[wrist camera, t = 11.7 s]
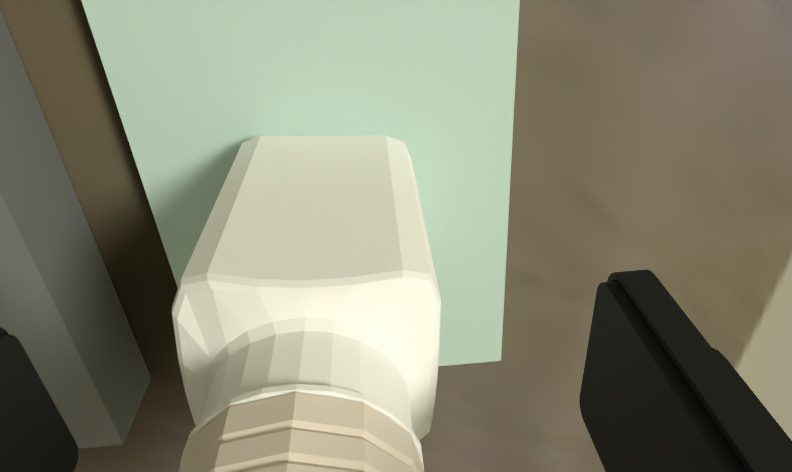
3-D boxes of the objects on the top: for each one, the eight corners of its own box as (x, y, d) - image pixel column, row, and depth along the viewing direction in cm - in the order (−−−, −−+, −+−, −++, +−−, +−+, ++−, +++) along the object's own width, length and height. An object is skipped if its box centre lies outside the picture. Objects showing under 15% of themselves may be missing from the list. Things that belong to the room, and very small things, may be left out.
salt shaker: (405, 266, 15) (460, 687, 7) (256, 268, 15) (141, 708, 7) (410, 126, 13) (496, 498, 5) (238, 125, 13) (40, 518, 5)
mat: (78, -52, 11) (64, -49, 11) (516, -83, 12) (523, -83, 11) (214, 372, 18) (210, 386, 17) (496, 347, 18) (501, 360, 17)
